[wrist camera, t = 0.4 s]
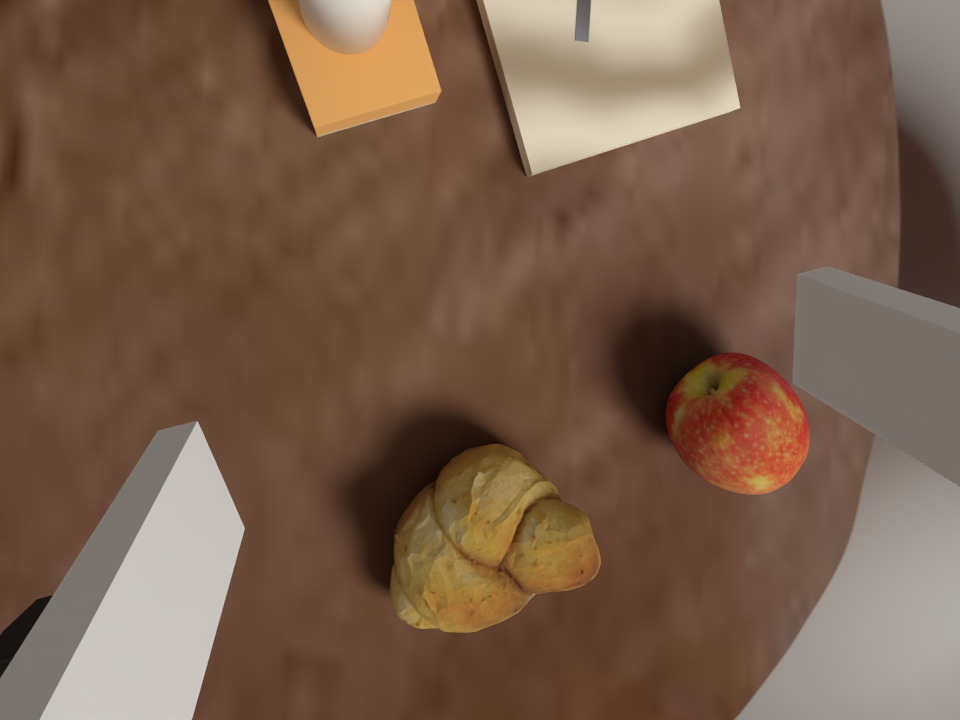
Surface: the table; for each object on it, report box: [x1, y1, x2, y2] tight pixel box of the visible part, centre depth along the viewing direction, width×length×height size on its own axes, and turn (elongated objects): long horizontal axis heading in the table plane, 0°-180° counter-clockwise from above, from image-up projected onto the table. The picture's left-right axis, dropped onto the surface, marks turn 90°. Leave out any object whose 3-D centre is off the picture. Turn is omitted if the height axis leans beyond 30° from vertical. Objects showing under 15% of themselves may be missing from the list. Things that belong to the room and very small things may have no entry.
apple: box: [666, 353, 810, 495], centre depth 37 cm, size 8×8×8 cm
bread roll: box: [390, 444, 601, 632], centre depth 35 cm, size 13×10×8 cm
